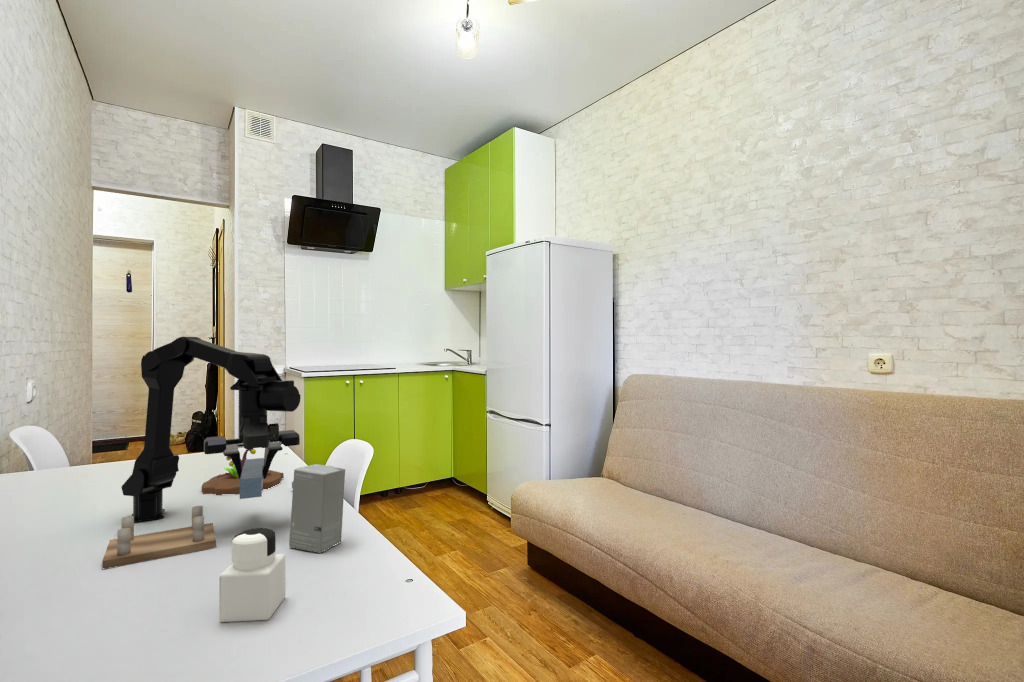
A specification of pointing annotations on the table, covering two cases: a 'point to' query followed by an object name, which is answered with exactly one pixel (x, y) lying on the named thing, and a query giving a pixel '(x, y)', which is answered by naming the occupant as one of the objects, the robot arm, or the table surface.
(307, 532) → the skincare box
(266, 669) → the table surface
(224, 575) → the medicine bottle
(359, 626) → the table surface
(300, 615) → the table surface
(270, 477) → the plant
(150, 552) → the peg rack
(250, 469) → the steel bar
